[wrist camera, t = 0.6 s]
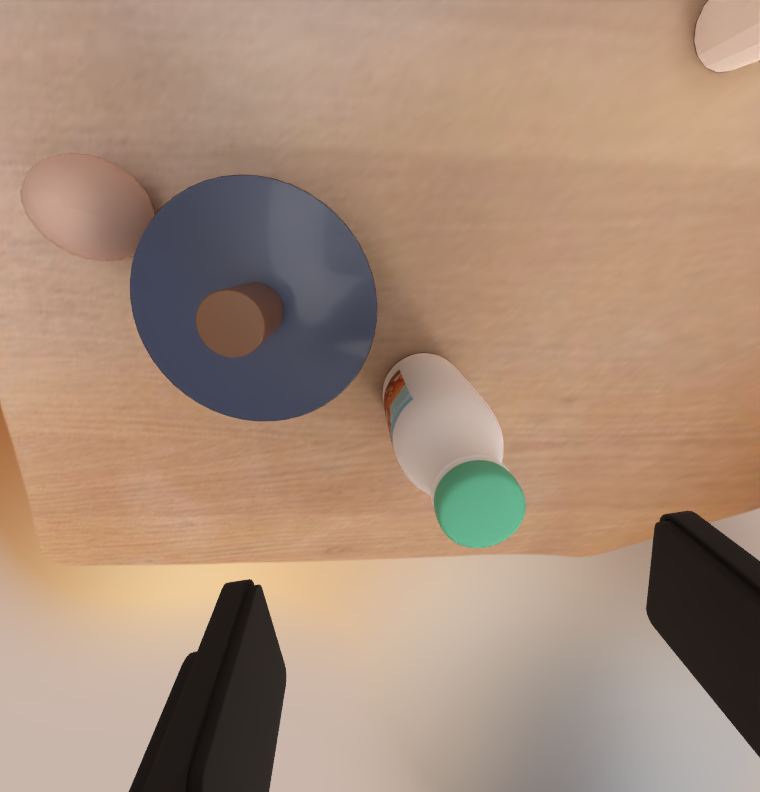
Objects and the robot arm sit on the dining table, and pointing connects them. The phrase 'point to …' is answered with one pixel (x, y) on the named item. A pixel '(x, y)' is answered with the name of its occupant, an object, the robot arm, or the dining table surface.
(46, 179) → the egg
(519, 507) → the milk bottle
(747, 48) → the white cup
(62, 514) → the dining table surface
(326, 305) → the lid
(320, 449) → the dining table surface
